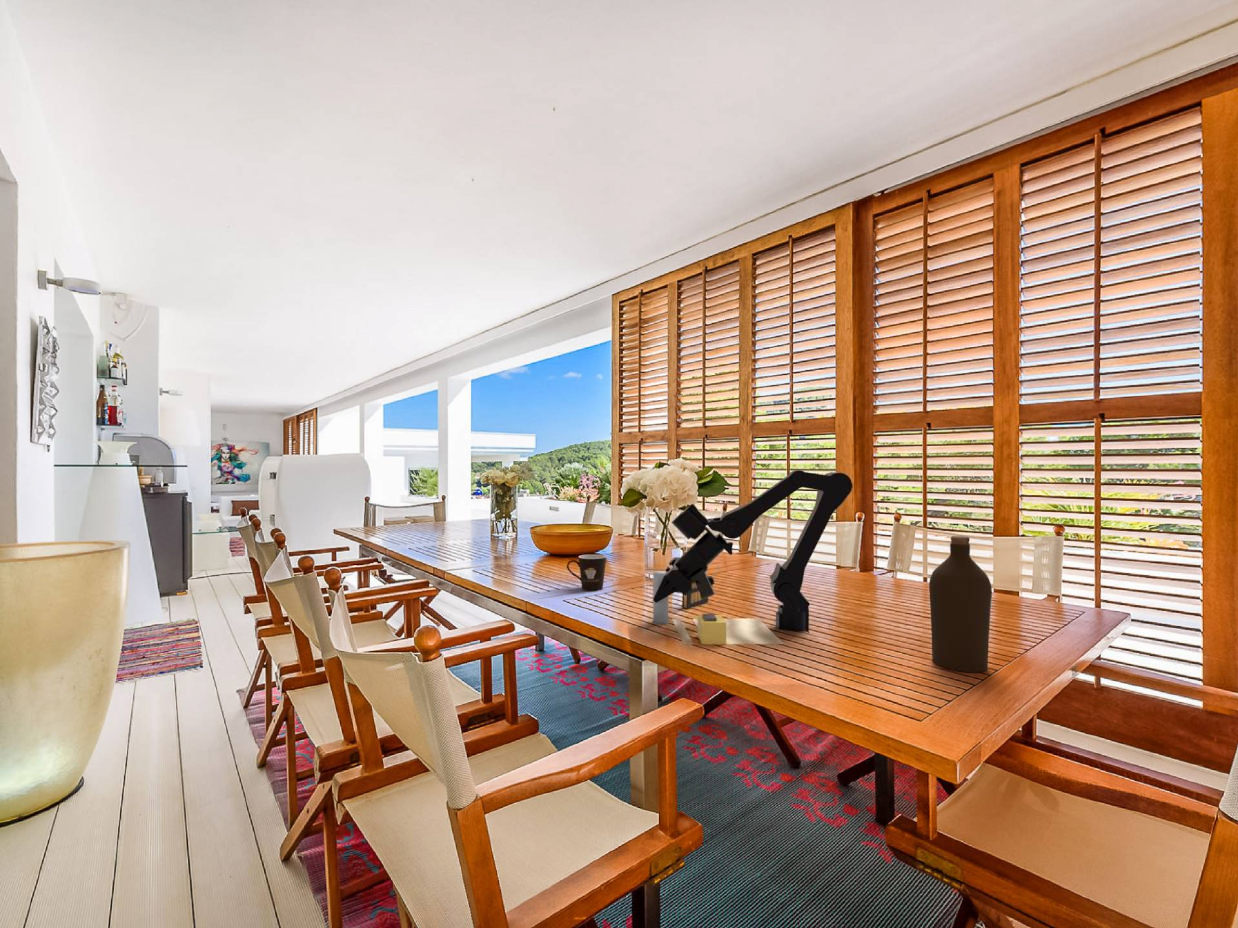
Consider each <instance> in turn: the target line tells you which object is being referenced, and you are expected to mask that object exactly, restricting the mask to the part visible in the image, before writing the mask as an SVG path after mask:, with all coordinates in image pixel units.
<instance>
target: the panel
mask: <svg viewBox="0 0 1238 928" xmlns="http://www.w3.org/2000/svg"><path fill="white" fill-rule="evenodd" d="M671 619H672V622H673V624H674V626H675V629H676V631H677V634H678V636H679V637H680V640H681V642H682V645H689V646H691V645H694V643H693V641H692V639H691V637H690V635H689V633H688V631H687V629H686V628H685V625H684V624H683V621H682V619H681V618H671ZM723 619H724V620H725V621H726V644H725V645H784V642H783V641H782V640H781V639H779V637H777V635H775V633H773V631H771V630H770V629H769V628H768V627H767V626H766V625H765V623H763V622H762V621H761V620H760V619H759V618H753V617H752V618H723ZM692 620H693V622H694V625H695V626H696V627H697V628H698V618H692Z"/></svg>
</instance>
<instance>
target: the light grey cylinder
mask: <svg viewBox="0 0 1238 928" xmlns="http://www.w3.org/2000/svg"><path fill="white" fill-rule="evenodd" d="M665 571H666V570H664V571H663V570H659V571H653V573H652V574H653V575H652V576H653V579H652V584H653V585H652V586H653V587H652V592H653V594H652V599H653V598H654V596H655V594H656V592H657V590H658V588H659V586H660V584H661V582H662V579H663V577H664V575H665V573H666V572H665ZM669 597H670V595H669V596H667V597H666V598H664V599H662V600H660V601H659V602H657V603H655V602H654V601H653V600H652V601H653V602H652V606H653V607H652V609H653V610H652V612H653V613H652V614H653V616H652V623H653V624H654V625H659V626H662V625H663V626H664V625H668V624H670V620H669Z"/></svg>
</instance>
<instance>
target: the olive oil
mask: <svg viewBox="0 0 1238 928" xmlns="http://www.w3.org/2000/svg"><path fill="white" fill-rule="evenodd" d="M928 582H929V583H928V586H929V587H928V588H929V592H928V593H929V606H930V625H931V627H930V629H931V630H930V631H931V658H932V662H933V663H934V664H936V665H937V666H940V667H941V668H944V669H947V670H951V671H956V672H962V673H982V672H985V671H987V670H988V665H989V645H990V643H989V642H990V627H991V626H990V625H991V609H992V595H993V588H992V583H991V580H990V578H989V576H988V575H987V573H986V572H985V571H984V570H983V569H982V568H981V567H980V566H979V565H978V564H977V563H976V561H974V560H973V559H972V557H971V544H970V537H969V536H963V535H962V536H961V535H952V536H951V537H950V544H949V556H948V557H947V558H946V559H945V560H944V561H942V562H941V563H940V564H939V565H938V566H937V567H936V568H935V569H934V570H933V571H932V573H931V575H930V578H929V581H928Z"/></svg>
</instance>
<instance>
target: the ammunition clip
mask: <svg viewBox="0 0 1238 928" xmlns="http://www.w3.org/2000/svg"><path fill="white" fill-rule="evenodd" d="M705 573H706V574H707V570H706V571H705ZM707 575H708V574H707ZM681 597H682V601H681V602H682V603H681V604H682V605H681V607H682V609H685V608H686V609H685V610H690V609H693V608H695V607H698V605H699V606H701V605H704V604H707V603H709V597H708V598H706V599H703V600H702V598H701V596H700V592H699V590H698V588H697V586H696V583H695V582H694V583H692V590H691V591H690V592H689V593H688V594H687V595H686V596H685V595H684V594H683V593H682V596H681ZM692 607H693V608H692Z"/></svg>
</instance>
